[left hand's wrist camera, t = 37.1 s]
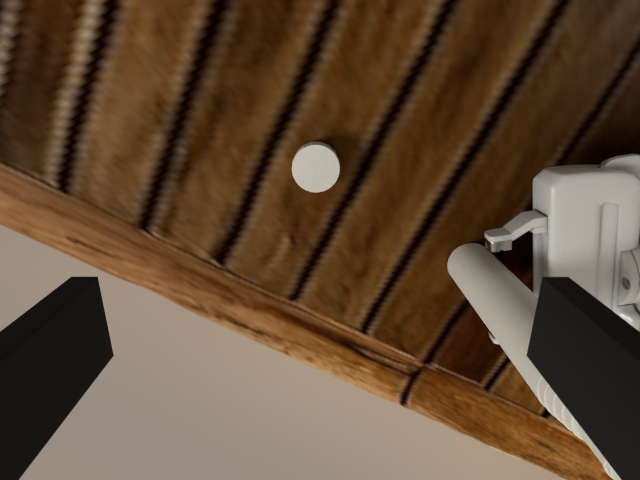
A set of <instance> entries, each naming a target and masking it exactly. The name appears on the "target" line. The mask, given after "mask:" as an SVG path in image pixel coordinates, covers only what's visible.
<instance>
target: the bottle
mask: <svg viewBox="0 0 640 480" xmlns="http://www.w3.org/2000/svg"><path fill="white" fill-rule="evenodd" d="M448 271H449V274H450V275H451V277H452V278H453V279H454V281H455V282H456V284H457V285H458V286H459V288H460V289H461V291H462V292H463V294H464V295H465V296H466V298H467V299H468V301H469V302H470V303H471V305H472V306H473V308H474V309H475V310H476V312H477V313H478V315H479V316H480V317H481V319H482V320H483V322H484V323H485V325H486V326H487V327H488V329H489V330H490V332H491V333H492V334H493V336H494V337H495V339H496V340H497V341H498V343H499V344H500V346H501V347H502V348H503V350H504V351H505V353H506V354H507V355H508V357H509V358H510V360H511V361H512V363H513V364H514V365H515V367H516V368H517V370H518V371H519V372H520V374H521V375H522V377H523V378H524V379H525V381H526V382H527V384H528V385H529V386H530V388H531V389H532V391H533V392H534V394H535V395H536V396H537V398H538V399H539V401H540V402H541V403H542V404H543V406H544V407H546V408H547V410H548V411H549V412H550V413H551V414H552V415H553V416H555V417H556V418H557V419H558V420H559V421H560V422H561V423H563V424H564V425H565V426H566V427H567V428H568V429H569V430H571V431H572V432H573V433H574V434H575V435H576V436H577V437H578V438H580V439H582V440H584V441H585V442H586V443H587V445H588V446H589V447H590V449H591V450H592V451H593V453H594V454H595V455H596V456H597V458H598V459H599V460H600V462H601V463H602V464H603V467H604V469H605V471H606V473H607V474H608V475H609V476H610V477H611V478H612V479H614V480H621V479H620V477H619V476H618V475H617V473H616V472H615V471H614V469H613V468H612V467H611V466H610V464H609V463H608V462H607V460H606V459H605V458H604V456H603V455H602V454H601V452H600V451H599V450H598V449H597V447H596V446H595V445H594V443H593V442H592V441H591V439H590V438H589V437H588V435H587V434H586V433H585V431H584V430H583V429H582V428H581V426H580V425H579V424H578V422H577V421H576V420H575V418H574V417H573V416H572V414H571V413H570V412H569V411H568V409H567V408H566V407H565V405H564V404H563V403H562V401H561V400H560V399H559V397H558V396H557V395H556V394H555V392H554V391H553V390H552V388H551V387H550V386H549V384H548V383H547V382H546V380H545V379H544V378H543V377H542V375H541V374H540V373H539V371H538V370H537V369H536V367H535V366H534V365H533V363H532V362H531V361H530V360H529V358H528V357H527V351H528V346H529V341H530V336H531V331H532V326H533V321H534V316H535V311H536V306H537V301H538V297H537V296H536V295H535V294H534V293H533V292H532V291H530V290H529V289H528V288H527V287H526V286H525V285H524V284H523V283H522V282H521V281H520V280H519V279H518V278H517V277H516V276H515V275H514V274H513V273H512V272H510V271H509V270H508V269H507V268H506V267H505V266H504V265H503V264H502V263H501V262H500V261H499V260H498V259H497V258H496V257H495V256H494V255H493V254H492V253H490V252H489V251H488V250H487V249H486V248H485V247H484V246H482V245H480V244H477V243H468V244H464V245H461V246H459V247H458V248H456V249H455V250H454V251H453V252H452V254H451V255H450V257H449V260H448Z"/></svg>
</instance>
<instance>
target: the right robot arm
mask: <svg viewBox="0 0 640 480" xmlns="http://www.w3.org/2000/svg"><path fill="white" fill-rule="evenodd" d="M527 231H531V232H532V233H533V293H534V294H535V295H536V296H537V297H538V296H539V292H540V287H541V282H542V277H569V278H571V279H572V280H573V281H574V282H576V283H577V284H578V285H580V286H581V287H582V288H584V289H585V290H586V291H587V292H589V293H590V294H591V295H593V296H594V297H595V298H597V299H598V300H599V301H600V302H602V303H603V304H604V305H606V306H607V307H608V308H609V309H611V310H612V311H613V312H615V313H616V314H617V315H619V316H620V317H621V318H622V319H624V320H625V321H626V322H628V323H629V324H630V325H632V326H633V327H634V328H635V329H637V330H638V331H639V332H640V155H639V154H635V153H630V154H624V155H619V156H614V157H611V158H608V159H606V160H605V161H603V162H602V163H601V164H600V165H566V166H556V167H549V168H545V169H543V170H542V171H541V172H540V173H539V174H538V175H536V176H535V177H534V179H533V210H532V211H526V212H521V213H520V214H519V215H517V216H516V217H515V218H513V219H512V220H511V221H510V222H508V223H507V224H506V225H504V226H503V228H498V229H492V230H487V231H485V247H486V248H488V250H489V251H490V252H499V251H501V250H503V251H507V250H512V241H513V240H515V239H516V238H518V237H520V236H521V235H523V234H524V233H526V232H527ZM489 337H490V338H491V340H492V341H493V343H495V344H499V343H498V341H497V340H496V339H495V337H494V336H493V334H492V333H491V332H490V330H489Z"/></svg>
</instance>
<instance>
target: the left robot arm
mask: <svg viewBox="0 0 640 480" xmlns="http://www.w3.org/2000/svg"><path fill="white" fill-rule="evenodd" d="M112 357H113V351H112V346H111V341H110V336H109V331H108V326H107V321H106V316H105V311H104V306H103V301H102V297H101V292H100V287H99V282H98V277H71V278H69V279H68V280H67V281H66V282H64V283H63V284H62V285H60V286H59V287H58V288H57V289H55V290H54V291H53V292H51V293H50V294H49V295H47V296H46V297H45V298H43V299H42V300H41V301H40V302H38V303H37V304H36V305H34V306H33V307H32V308H31V309H29V310H28V311H27V312H25V313H24V314H23V315H21V316H20V317H19V318H18V319H16V320H15V321H14V322H12V323H11V324H10V325H8V326H7V327H6V328H5V329H3V330H2V331H1V332H0V480H19V479H20V477H21V476H22V475H23V473H24V472H25V471H26V469H27V468H28V467H29V465H30V464H31V463H32V462H33V460H34V459H35V458H36V456H37V455H38V454H39V452H40V451H41V450H42V448H43V447H44V446H45V445H46V443H47V442H48V441H49V439H50V438H51V437H52V435H53V434H54V433H55V431H56V430H57V429H58V428H59V426H60V425H61V424H62V422H63V421H64V420H65V418H66V417H67V416H68V414H69V413H70V412H71V411H72V409H73V408H74V407H75V405H76V404H77V403H78V401H79V400H80V399H81V397H82V396H83V395H84V393H85V392H86V391H87V390H88V388H89V387H90V386H91V384H92V383H93V382H94V380H95V379H96V378H97V377H98V375H99V374H100V373H101V371H102V370H103V369H104V367H105V366H106V365H107V363H108V362H109V361H110V360H111V358H112ZM527 357H528V358H529V360H530V361H531V362H532V363H533V365H534V366H535V367H536V369H537V370H538V371H539V373H540V374H541V375H542V377H543V378H544V379H545V380H546V382H547V383H548V384H549V386H550V387H551V388H552V390H553V391H554V392H555V394H556V395H557V396H558V397H559V399H560V400H561V401H562V403H563V404H564V405H565V407H566V408H567V409H568V411H569V412H570V413H571V414H572V416H573V417H574V418H575V420H576V421H577V422H578V424H579V425H580V426H581V428H582V429H583V430H584V431H585V433H586V434H587V435H588V437H589V438H590V439H591V441H592V442H593V443H594V445H595V446H596V447H597V449H598V450H599V451H600V452H601V454H602V455H603V456H604V458H605V459H606V460H607V462H608V463H609V464H610V466H611V467H612V468H613V469H614V471H615V472H616V473H617V475H618V476H619V477H620V479H621V480H640V332H639V331H638V330H637V329H635V328H634V327H633V326H632V325H630V324H629V323H628V322H626V321H625V320H624V319H622V318H621V317H620V316H619V315H617V314H616V313H615V312H613V311H612V310H611V309H609V308H608V307H607V306H606V305H604V304H603V303H602V302H600V301H599V300H598V299H597V298H595V297H594V296H593V295H591V294H590V293H589V292H587V291H586V290H585V289H584V288H582V287H581V286H580V285H578V284H577V283H576V282H574V281H573V280H572V279H571V278H569V277H542V282H541V287H540V292H539V296H538V301H537V306H536V311H535V316H534V321H533V326H532V331H531V336H530V341H529V346H528V351H527Z"/></svg>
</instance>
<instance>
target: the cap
mask: <svg viewBox="0 0 640 480" xmlns="http://www.w3.org/2000/svg"><path fill="white" fill-rule="evenodd" d="M292 162H293V164H292V173H293V177H294V179H295V181H296V182H297V184H298V185H299V186H300V187H302V188H303V189H305V190H307V191H310V192H322V191H325V190H327V189H329V188H330V187H332V186H333V185H334V183H335V182H336V181H337V179H338V176H339V172H340V165H339V158H338V157H337V155H336V153H335V150H333V149H332V148H331V147H330V146H329V145H327V144H325V143H322V142H321V141H320V142H312V141H311V142H310V143H307V144H305V145H303V146H302V147H301V148H300V149H299V150H297V152H296V155H295V157H294V158H293V161H292Z"/></svg>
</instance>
